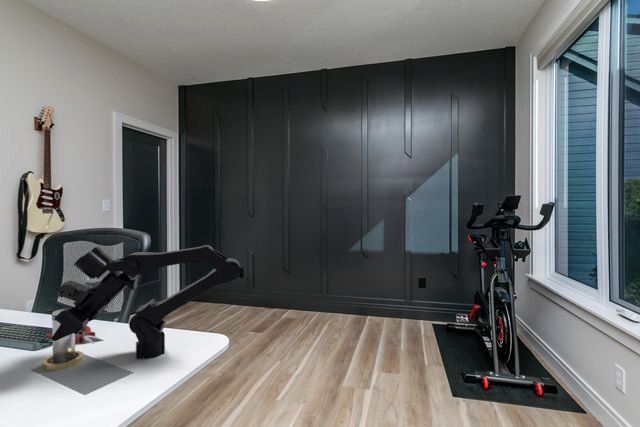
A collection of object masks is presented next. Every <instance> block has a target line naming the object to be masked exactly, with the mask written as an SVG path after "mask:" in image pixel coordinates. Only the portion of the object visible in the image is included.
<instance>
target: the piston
mask: <svg viewBox="0 0 640 427" xmlns="http://www.w3.org/2000/svg"><path fill="white" fill-rule="evenodd" d="M64 309H65V308H61V309H57V310H54V311H52V314H51V320H52V321H51V322H52V324H51V328H52V330H51V334H52V336H53V335H54V334H55V332H56V331H57V329H58V328H59V326H60V323H59V322H58V321H56V320H55V317H56V316H57V315H58V314H59V313H60V312H61V311H63V310H64ZM75 335H76V334H74V333H73V334H70V335H68V336H66V337H63V338H61V339H59V340H57V341H53V343H52V355H53V364H58V363H63V362H67V361H70V360H73V359H75V351H76V345H75Z"/></svg>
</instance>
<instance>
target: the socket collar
mask: <svg viewBox="0 0 640 427" xmlns="http://www.w3.org/2000/svg"><path fill="white" fill-rule="evenodd" d="M83 354H84V352H83V351H80V350H75V359H73V360H70V361H67V362H63V363H58V364H50V363H52V362H53V354H52V355H50V356H47V357H46V358H45V359H44V360H43V361H42V365H43V370H46V371H58V370H63V369H68V368H70V367H73V366H76V365H78V364H79V363H81V362H82V360H83Z"/></svg>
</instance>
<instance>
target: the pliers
mask: <svg viewBox="0 0 640 427" xmlns="http://www.w3.org/2000/svg"><path fill="white" fill-rule="evenodd" d="M80 332H82V333H83V332H84V333H85V335H84V334H75V346H77V345H79V344H85V345H87V344H92V345H93V344H95V343H99V342H105V341H106V340H104V339H102V338H100V337H97V336H96V332H95V331H92V329H91V327H90V325H89V326H88V325H86V326H85V327H84V328H83V329H82V330H81V331H80ZM44 337H47V338H49V339H51V338H52V333H46V334H45V335H44Z"/></svg>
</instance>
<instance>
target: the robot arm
mask: <svg viewBox="0 0 640 427" xmlns="http://www.w3.org/2000/svg"><path fill="white" fill-rule="evenodd" d="M199 261H200V262H201V261H204V262H206V263H207V264H208V265H210V266H211V267H212V268H213V269H212V270H210V272H209V273H207V274H206V275H205V276H203V277H201V278H200V279H198V280H196V281H195V282H193V283H191V284H189V285H188V286H186V287H184V288H183V289H181V290H179V291H177V292H176V293H173V294H172V295H170V296H168V297H167V298H165V299H163V300H161V301H158V302H156V300H155V298H153V299H151V300H150V301H149V302H147V303H145V304H142V305H140V306H139V307H138V308H137V309H136V311H135V312H134V315H133V316H132V317H131V318H130V320H129V323H128V327H129V329H130V332H132V333H133V334H134V335H135V337H136V339H137V341H136V342H135V359H136V360H151V359H156V358H158V357H160V356H162V355H165V354H166V353H165V352H166V351H165V350H166V349H165V347H166V345H165V341H166V340H165V339H166V338H165V337H166V335H165V332H164V331H163V330H164V328H165V325H166V321H165V320H164V319H165V318H166V317H167V316H168V315H169V314H172V313H173V312H175V311H177V310H178V309H179V308H181V307H183V306H185V305H186V304H188V303H189V302H192V301H193V300H196V298H198V297H200V296H202V295H203V294H205V293H207V292H208V291H210V290H212V289H213V288H216V287H218V286H223V285H226V284H228V283H229V284H230V283H232V282H233V281H236V280H237V279H238V278H240V275H241V270H242V268H241V265H240V262H239V261H238V260H237V259H235V258H231V257H229V258H228V257H227V256H225V255H224V254H223V253H221V252H219V251H218V250H216V249H214V248H213V247H212V246H211V245H210V244H209V245H207V244H204V245H201V246H197V247H191V248H185V249H179V250H178V249H177V250H171V251H165V252H150V251H148V252H147V251H142V252H141V251H137V252H133V253H131V254H128V255H126V256H124V257H121V258H115V259H113V258H111V257H110V256H109V255H108V254H106V253H105V252H104V250H102V249H101V247H100V246H96V247H95V246H94V248H92V250H90V251H88V252H87V253H85V254H84V255H82V256H80V258H78V259H76V261H75V262H74V264H73V266H74V267H76V268H77V269H78V270H79V271H80V272H82V273H83V274H84V275H85V276H87V277H88V278H89V279H90V280H95V279H97V280H99V279H101V278H102V277H103V276H104V277H103V278H102V279H101V280H100V281H99V282H97V283H96V284H94V285H93V286H91V287H90V286H87V285H85V284H83V283H80V282H76V281H73V280H67V281H65V282H63V283H62V284H61V286H60V287H59V288H57V294H56V295H57V297H59V298H65V299H68V300H71V301H74V302H73V303H72V304H73V305H74V306H71V307H66V308H63V309H64V310H63V311H61V312H60V313H59V314H58V315H57V316H56V317H55V320H56V321H58V322H59V323H60V326H59V328H58V329H57V331H56V332H55V334H54V335H53V336H52V338H51V339H52V340H53V341H57V340H59V339H61V338H63V337H66V336H68V335H70V334H73V333H74V334H75V335H78V333H79V332H82V331H81V330H82V329H83V328H84V327H85V326H88V325H89V323H90V322H91V321H93V320H96V318H97V316H98V315H101V314H102V313H103V312H104V311H105V310H106V309H107V308H108V307H109V304H110V303H112V301H114V299H116V298H117V296H119V295H120V293H122V291H124V290H125V289H126V288H127V287H128V288H129V289H130V290H131V291H133V290H135V289H136V288H137V287H138V284H137V282H138V277H136V276H139V275H143V274H145V273H148V272H152V270H153V271H155V270H156V269H159V268H163V267H169V266H175V265H181V264H187V263H193V262H199ZM106 274H107V275H106ZM133 277H134V278H133Z"/></svg>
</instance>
